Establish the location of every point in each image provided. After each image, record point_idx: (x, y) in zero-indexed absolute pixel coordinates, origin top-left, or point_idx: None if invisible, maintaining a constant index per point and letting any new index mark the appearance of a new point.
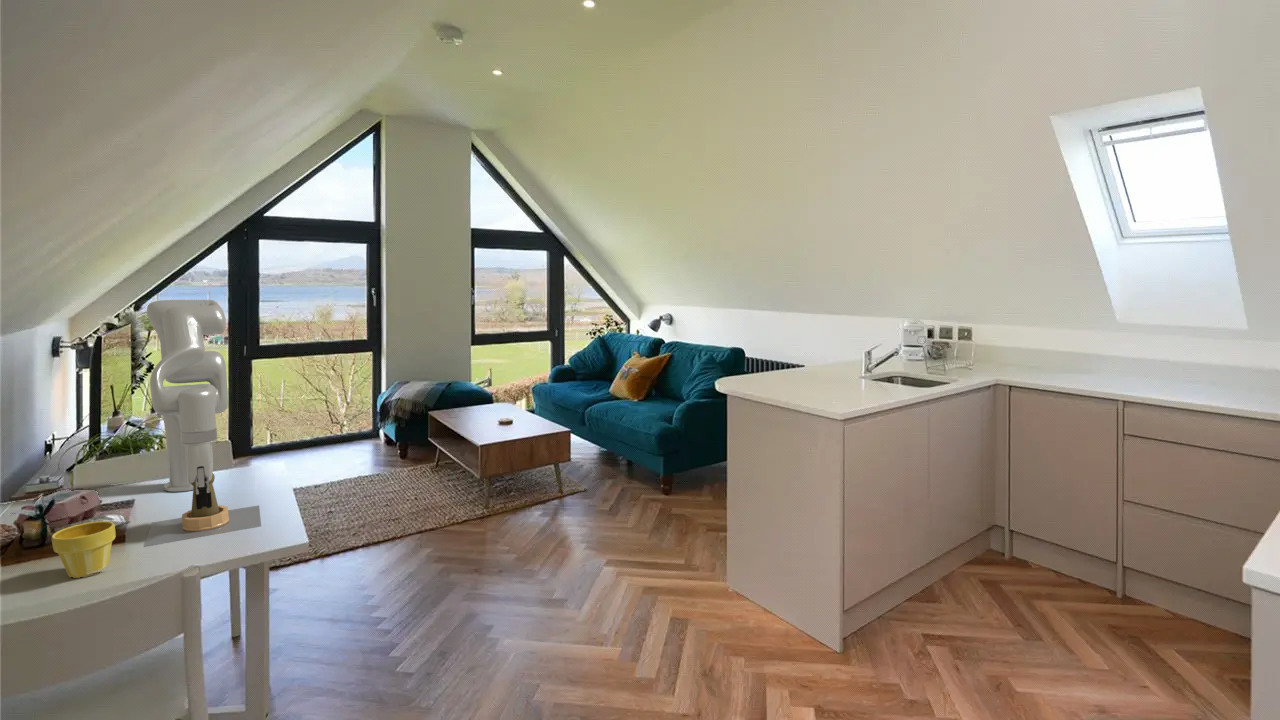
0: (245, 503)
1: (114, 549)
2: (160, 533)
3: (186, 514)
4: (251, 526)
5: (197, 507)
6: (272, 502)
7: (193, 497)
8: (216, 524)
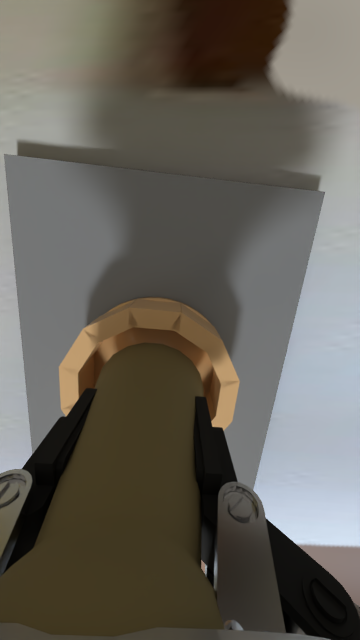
0: (333, 466)
1: (100, 41)
2: (145, 220)
3: (165, 327)
4: None
5: (85, 394)
6: (281, 519)
7: (105, 420)
8: None
